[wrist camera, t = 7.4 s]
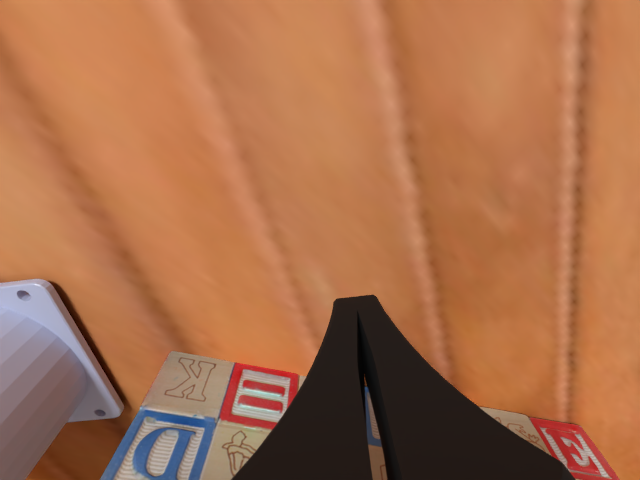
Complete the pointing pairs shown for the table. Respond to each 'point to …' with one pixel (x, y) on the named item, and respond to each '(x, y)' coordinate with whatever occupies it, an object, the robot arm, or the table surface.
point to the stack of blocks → (272, 425)
